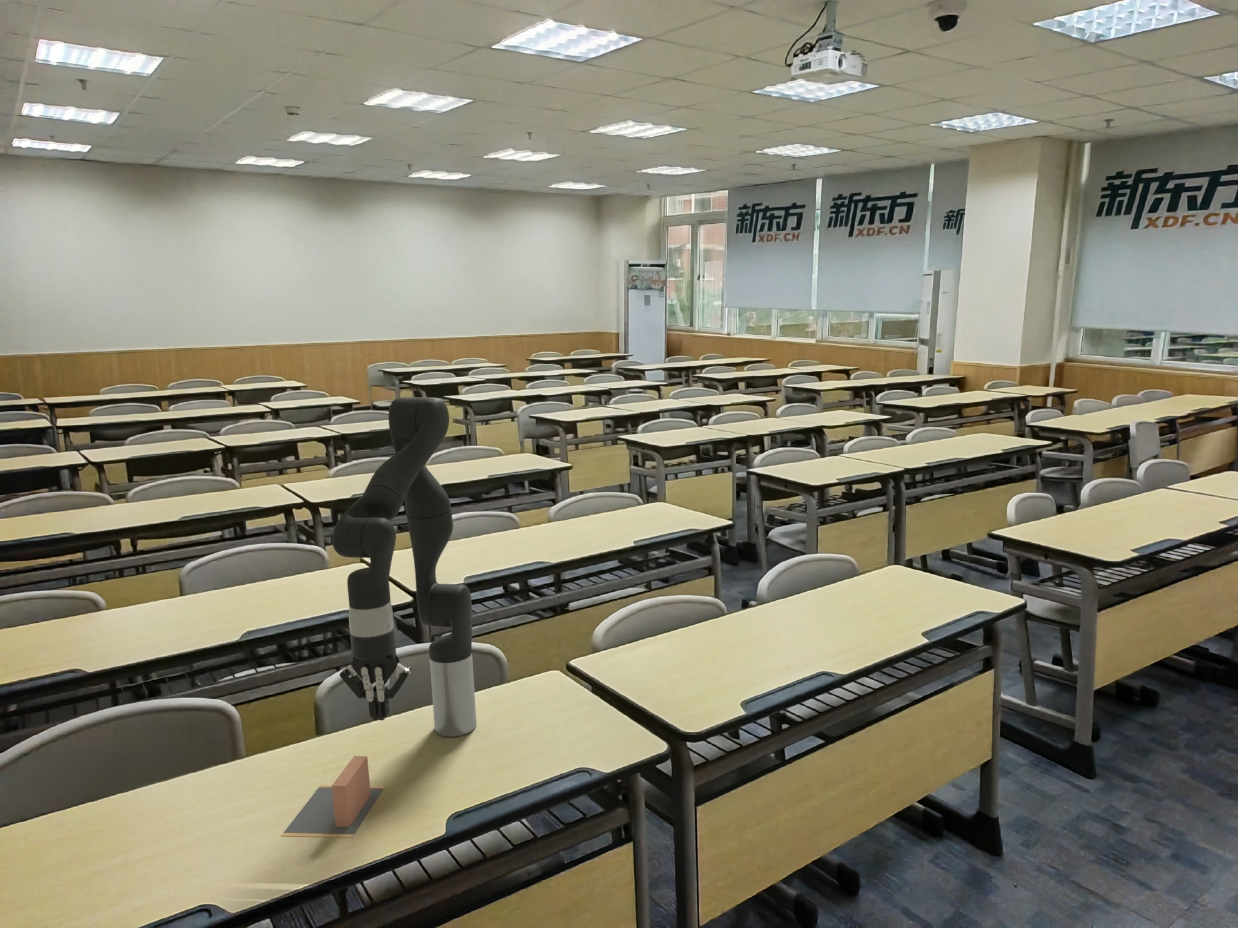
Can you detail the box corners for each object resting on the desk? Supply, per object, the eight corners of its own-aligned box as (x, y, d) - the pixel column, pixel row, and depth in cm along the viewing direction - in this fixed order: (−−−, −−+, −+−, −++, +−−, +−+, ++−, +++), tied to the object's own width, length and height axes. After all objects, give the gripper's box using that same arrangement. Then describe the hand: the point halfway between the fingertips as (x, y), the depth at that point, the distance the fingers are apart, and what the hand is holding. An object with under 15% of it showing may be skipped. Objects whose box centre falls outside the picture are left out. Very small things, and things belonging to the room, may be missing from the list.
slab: (357, 794, 156) (354, 755, 155) (370, 794, 156) (367, 756, 154) (335, 826, 146) (331, 785, 145) (349, 826, 146) (345, 785, 145)
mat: (320, 787, 160) (320, 784, 160) (385, 788, 159) (385, 785, 159) (281, 838, 144) (280, 835, 144) (352, 840, 143) (352, 837, 143)
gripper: (415, 619, 147) (422, 708, 150) (344, 619, 148) (352, 708, 151) (401, 635, 140) (409, 728, 143) (326, 635, 141) (335, 728, 144)
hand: (379, 718), depth 147 cm, fingers closed
